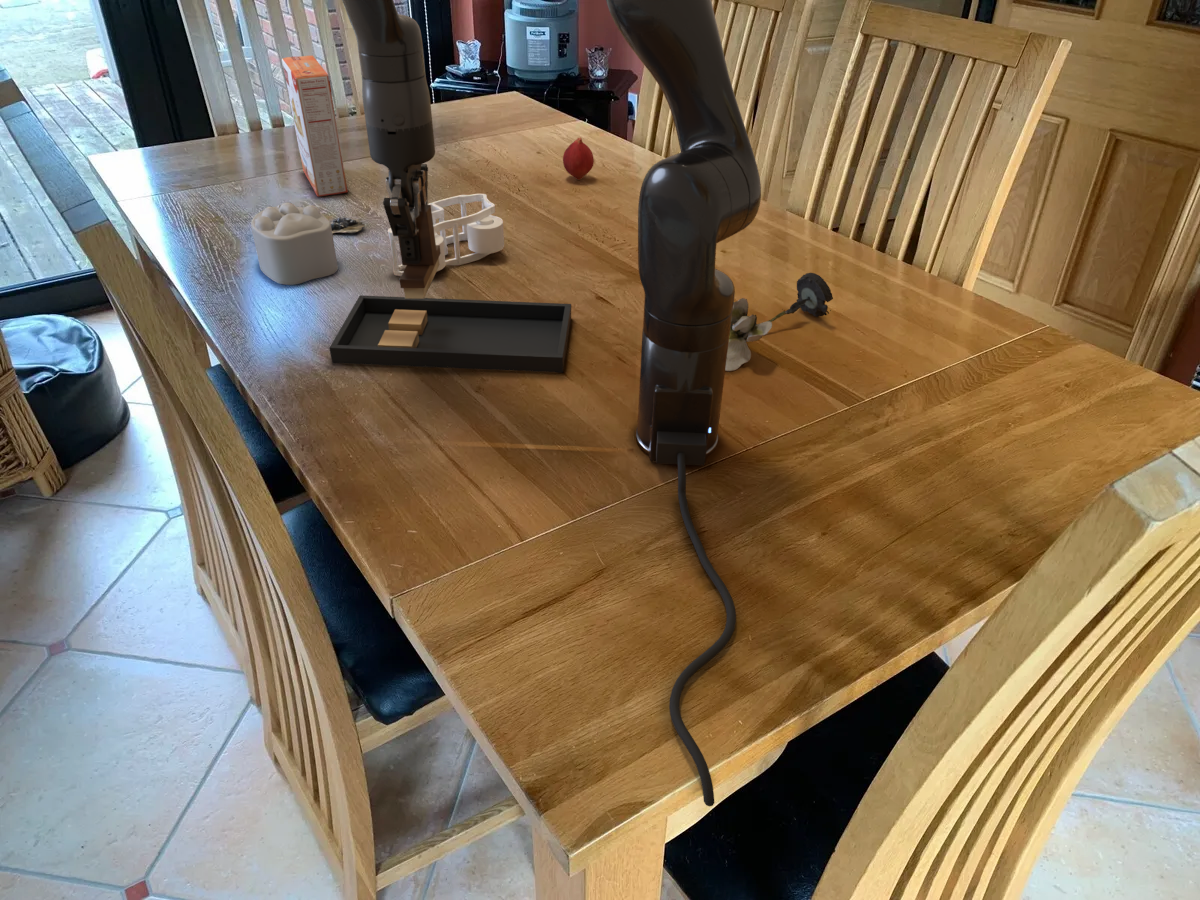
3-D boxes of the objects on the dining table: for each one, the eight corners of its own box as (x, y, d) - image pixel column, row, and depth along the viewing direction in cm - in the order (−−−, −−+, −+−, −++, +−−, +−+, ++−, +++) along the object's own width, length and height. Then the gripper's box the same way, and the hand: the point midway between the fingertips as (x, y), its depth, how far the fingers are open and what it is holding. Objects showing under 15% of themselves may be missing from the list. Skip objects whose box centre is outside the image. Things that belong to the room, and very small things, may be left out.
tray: (562, 376, 114) (562, 357, 112) (332, 366, 114) (329, 347, 113) (571, 321, 125) (571, 303, 124) (362, 313, 126) (359, 295, 124)
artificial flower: (838, 333, 127) (861, 281, 119) (717, 396, 118) (732, 344, 110) (796, 295, 131) (815, 242, 123) (676, 353, 122) (687, 299, 114)
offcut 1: (421, 335, 120) (420, 324, 119) (389, 333, 120) (388, 323, 119) (427, 320, 123) (426, 310, 122) (396, 319, 124) (394, 309, 123)
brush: (430, 299, 110) (419, 224, 104) (398, 299, 110) (386, 224, 105) (445, 264, 119) (436, 192, 113) (416, 263, 119) (405, 192, 113)
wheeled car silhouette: (412, 289, 132) (407, 243, 128) (374, 264, 139) (368, 219, 134) (520, 254, 143) (518, 210, 139) (479, 232, 150) (477, 189, 145)
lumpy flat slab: (368, 234, 148) (366, 223, 147) (319, 240, 146) (317, 229, 145) (361, 219, 153) (359, 208, 152) (313, 225, 151) (311, 214, 150)
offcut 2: (412, 357, 116) (411, 346, 115) (379, 355, 116) (377, 344, 115) (419, 341, 119) (418, 331, 118) (386, 340, 119) (385, 329, 118)
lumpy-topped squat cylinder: (281, 288, 132) (269, 233, 126) (247, 258, 140) (234, 205, 134) (346, 270, 137) (337, 216, 132) (310, 242, 145) (300, 190, 140)
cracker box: (301, 173, 171) (280, 56, 158) (333, 169, 173) (314, 53, 160) (315, 198, 160) (293, 75, 148) (348, 193, 162) (330, 72, 150)
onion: (558, 182, 169) (558, 140, 165) (568, 172, 174) (568, 131, 169) (588, 186, 168) (588, 143, 163) (597, 176, 172) (597, 134, 168)
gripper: (380, 99, 108) (398, 234, 118) (349, 134, 97) (371, 280, 107) (442, 100, 108) (454, 236, 118) (418, 135, 97) (433, 282, 107)
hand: (415, 256), depth 112 cm, fingers closed on brush, 2 cm apart
